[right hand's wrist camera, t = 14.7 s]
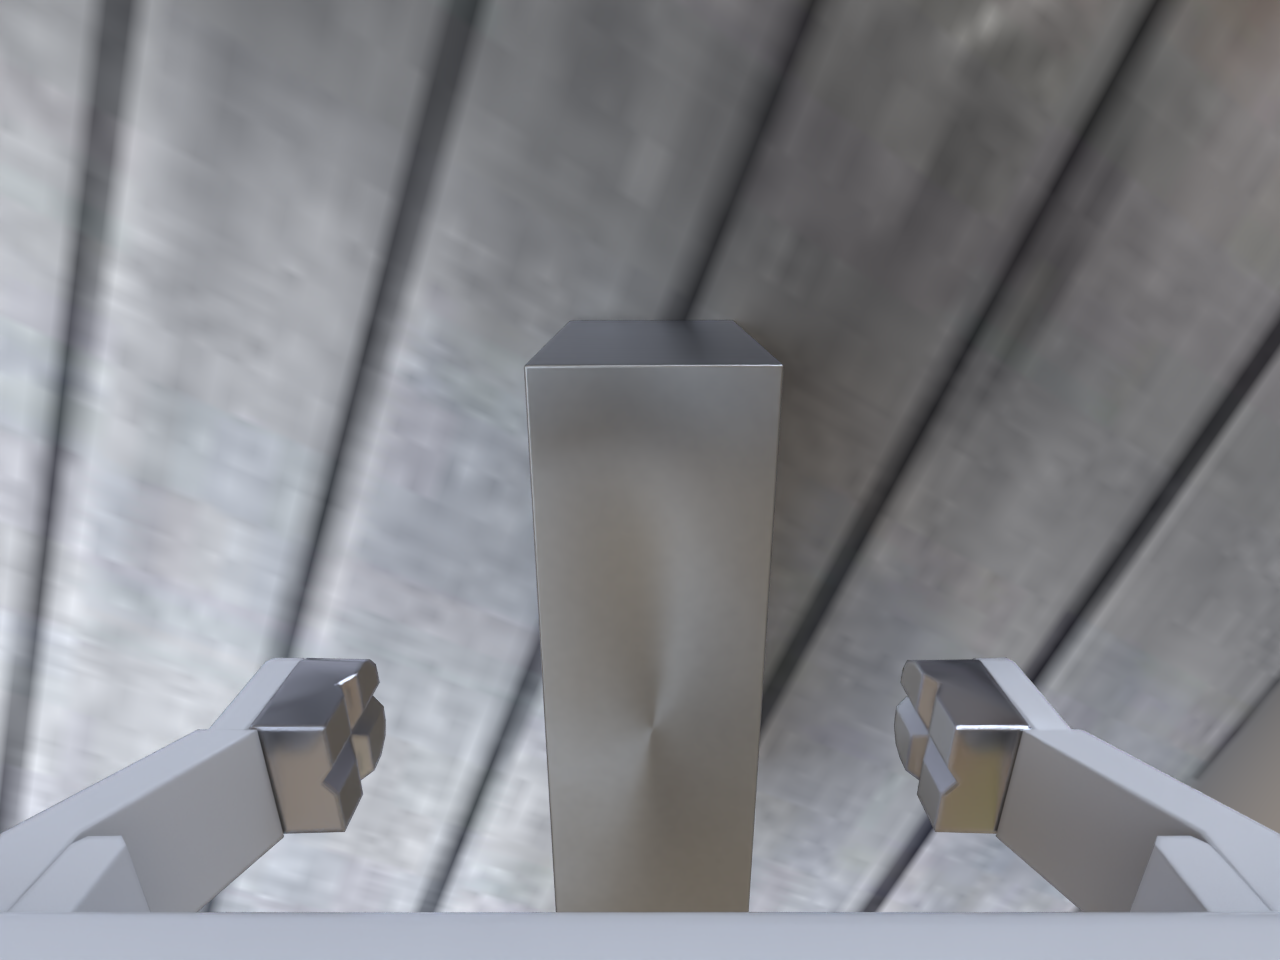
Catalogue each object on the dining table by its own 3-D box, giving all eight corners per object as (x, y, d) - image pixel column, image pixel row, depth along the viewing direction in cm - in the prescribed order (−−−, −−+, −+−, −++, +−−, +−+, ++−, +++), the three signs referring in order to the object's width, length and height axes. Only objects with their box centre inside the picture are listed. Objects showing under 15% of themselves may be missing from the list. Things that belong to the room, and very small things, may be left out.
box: (568, 320, 26) (523, 365, 16) (733, 320, 26) (784, 364, 16) (585, 768, 33) (559, 983, 23) (715, 768, 33) (744, 984, 23)
